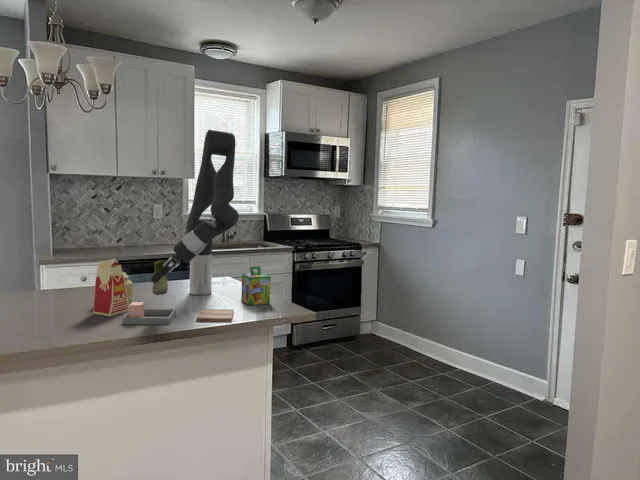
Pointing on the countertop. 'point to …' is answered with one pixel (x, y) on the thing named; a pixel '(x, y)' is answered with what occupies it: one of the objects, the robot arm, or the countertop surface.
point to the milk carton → (110, 289)
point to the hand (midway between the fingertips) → (154, 279)
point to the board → (215, 315)
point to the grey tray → (151, 320)
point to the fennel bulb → (162, 284)
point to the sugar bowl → (128, 288)
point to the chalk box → (255, 287)
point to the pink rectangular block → (136, 310)
